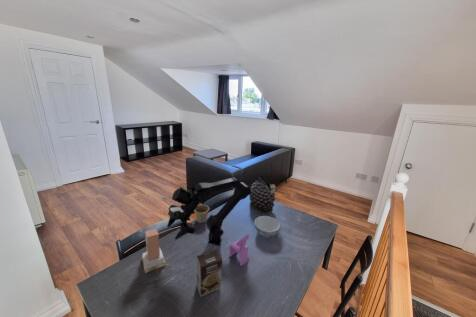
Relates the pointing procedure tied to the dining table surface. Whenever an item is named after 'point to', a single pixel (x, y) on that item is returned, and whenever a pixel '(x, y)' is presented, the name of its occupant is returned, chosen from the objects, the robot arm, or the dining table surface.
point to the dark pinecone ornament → (262, 196)
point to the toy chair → (240, 249)
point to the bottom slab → (153, 266)
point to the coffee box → (209, 272)
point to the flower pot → (201, 213)
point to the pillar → (152, 244)
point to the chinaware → (267, 226)
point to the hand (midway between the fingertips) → (171, 232)
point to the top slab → (153, 260)
